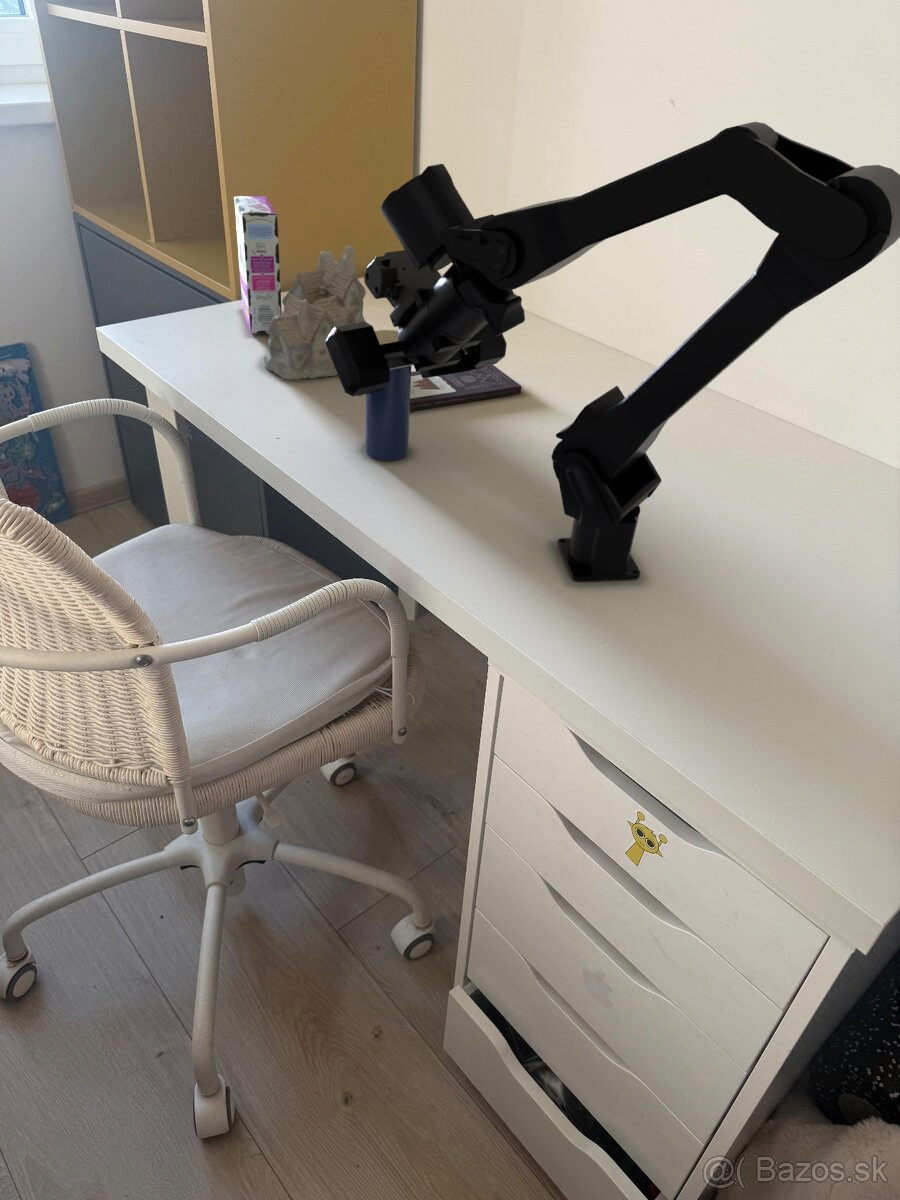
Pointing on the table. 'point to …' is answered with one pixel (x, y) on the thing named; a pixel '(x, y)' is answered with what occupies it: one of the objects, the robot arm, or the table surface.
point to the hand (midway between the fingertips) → (386, 381)
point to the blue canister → (389, 412)
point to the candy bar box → (258, 261)
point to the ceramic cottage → (314, 317)
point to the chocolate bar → (460, 387)
